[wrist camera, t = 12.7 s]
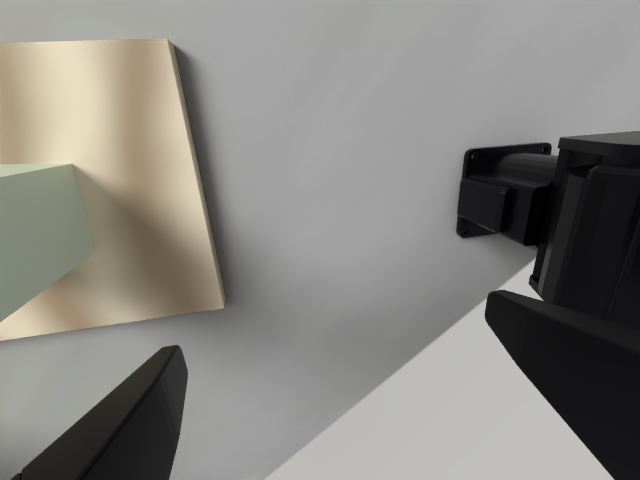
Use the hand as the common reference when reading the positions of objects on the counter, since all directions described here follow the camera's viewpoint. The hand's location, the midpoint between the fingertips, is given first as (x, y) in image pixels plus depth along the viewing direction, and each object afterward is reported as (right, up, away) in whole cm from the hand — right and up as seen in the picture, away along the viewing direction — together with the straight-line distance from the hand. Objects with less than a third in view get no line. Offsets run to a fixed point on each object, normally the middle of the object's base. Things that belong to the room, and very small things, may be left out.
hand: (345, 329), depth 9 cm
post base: (-17, +5, +9) cm, 20 cm away
